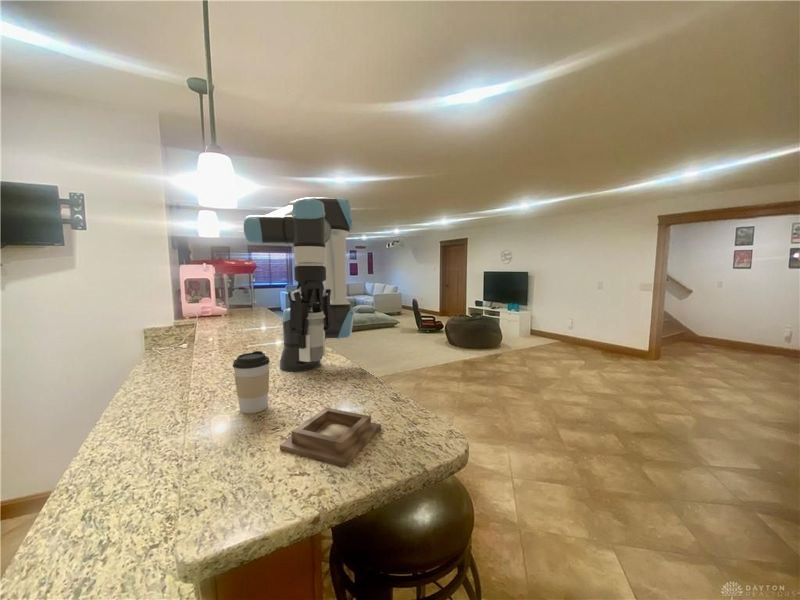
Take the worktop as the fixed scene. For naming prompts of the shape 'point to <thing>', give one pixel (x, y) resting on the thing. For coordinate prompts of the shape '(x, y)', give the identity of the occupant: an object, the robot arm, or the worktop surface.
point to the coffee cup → (252, 381)
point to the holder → (332, 436)
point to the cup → (315, 334)
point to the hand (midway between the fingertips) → (312, 357)
